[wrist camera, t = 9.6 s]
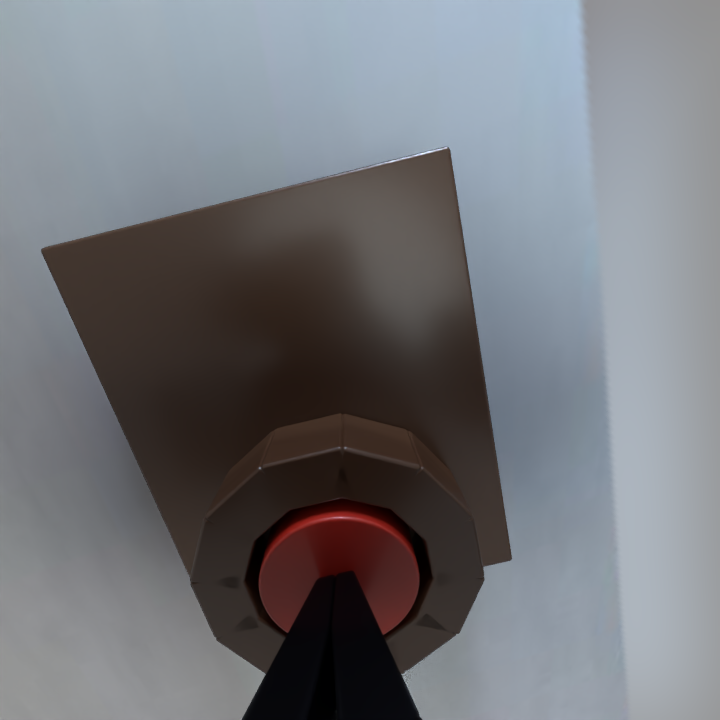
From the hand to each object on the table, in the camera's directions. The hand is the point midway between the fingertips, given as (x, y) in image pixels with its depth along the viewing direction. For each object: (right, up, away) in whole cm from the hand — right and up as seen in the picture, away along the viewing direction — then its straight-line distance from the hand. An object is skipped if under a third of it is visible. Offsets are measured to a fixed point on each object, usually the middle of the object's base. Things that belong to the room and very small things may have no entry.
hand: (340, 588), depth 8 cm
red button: (0, +1, +2) cm, 2 cm away
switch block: (-1, +4, +3) cm, 5 cm away
